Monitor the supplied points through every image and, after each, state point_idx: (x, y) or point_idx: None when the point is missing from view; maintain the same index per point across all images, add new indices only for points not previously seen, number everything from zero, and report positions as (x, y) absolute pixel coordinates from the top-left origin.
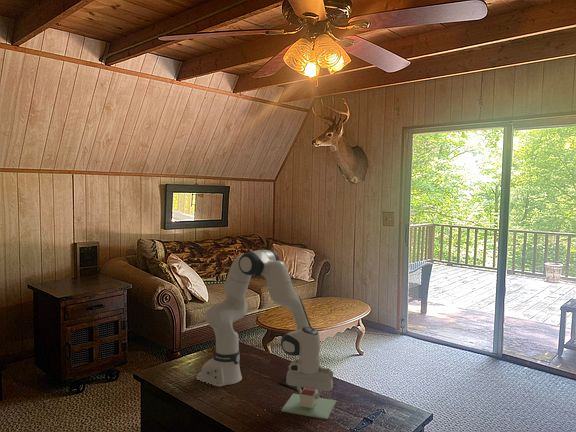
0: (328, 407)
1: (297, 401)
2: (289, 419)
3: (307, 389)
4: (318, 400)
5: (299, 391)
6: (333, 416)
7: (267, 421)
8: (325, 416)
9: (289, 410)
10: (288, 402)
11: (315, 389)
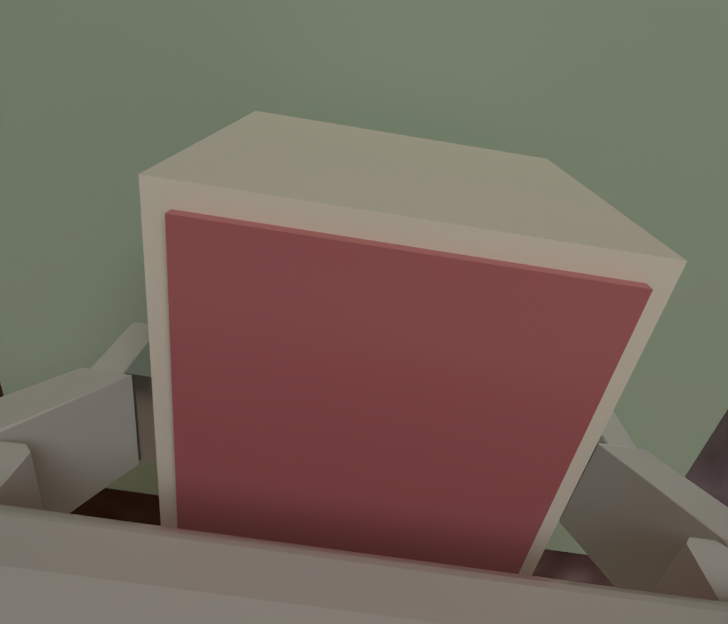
0: (704, 329)
1: (135, 216)
2: None
3: (286, 488)
4: (542, 93)
5: (86, 488)
6: (718, 482)
7: None
8: None
9: (129, 475)
10: (4, 276)
11: (557, 453)
